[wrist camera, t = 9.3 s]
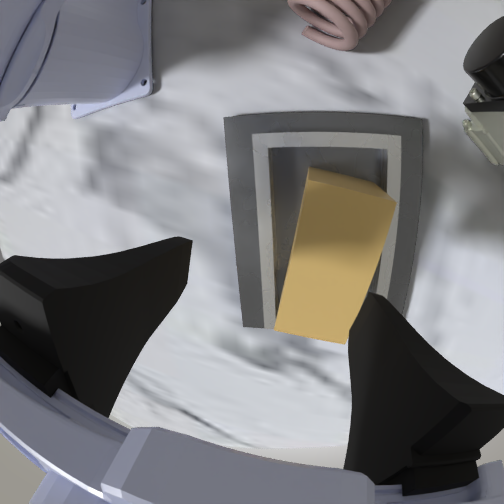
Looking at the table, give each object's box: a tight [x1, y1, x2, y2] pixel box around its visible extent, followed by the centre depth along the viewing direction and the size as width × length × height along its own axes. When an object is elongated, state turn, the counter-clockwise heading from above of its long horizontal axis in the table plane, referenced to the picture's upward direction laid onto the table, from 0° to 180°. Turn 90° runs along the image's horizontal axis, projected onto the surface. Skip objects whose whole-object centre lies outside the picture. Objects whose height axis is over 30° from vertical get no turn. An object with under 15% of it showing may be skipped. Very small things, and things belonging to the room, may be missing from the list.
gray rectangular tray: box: [224, 112, 423, 329], centre depth 17 cm, size 15×12×2 cm
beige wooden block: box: [274, 167, 397, 344], centre depth 15 cm, size 4×8×5 cm, turn 171°
